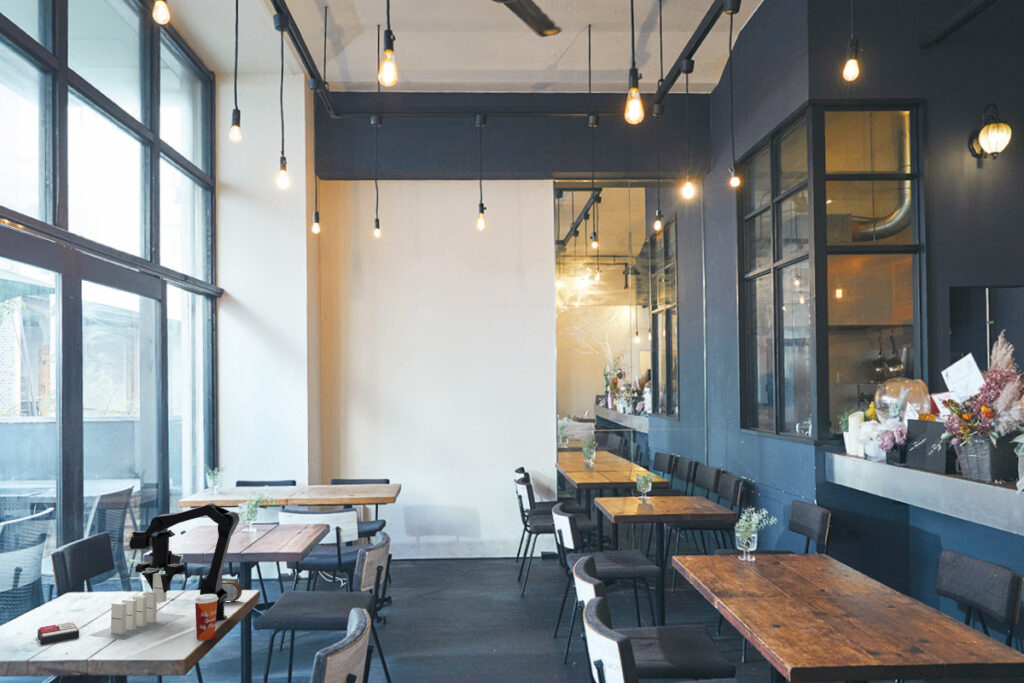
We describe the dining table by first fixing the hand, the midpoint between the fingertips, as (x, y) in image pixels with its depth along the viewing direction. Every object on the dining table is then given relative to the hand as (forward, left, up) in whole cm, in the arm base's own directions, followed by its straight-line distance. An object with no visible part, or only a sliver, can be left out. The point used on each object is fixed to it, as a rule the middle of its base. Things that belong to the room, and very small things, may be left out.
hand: (159, 591), depth 270 cm
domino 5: (0, 0, -4) cm, 4 cm away
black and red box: (+2, +32, -11) cm, 34 cm away
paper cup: (-33, -6, -11) cm, 35 cm away
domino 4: (-2, +4, -10) cm, 11 cm away
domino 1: (-9, +16, -10) cm, 20 cm away
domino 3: (-4, +8, -10) cm, 13 cm away
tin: (+9, -26, -11) cm, 30 cm away
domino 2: (-7, +12, -10) cm, 17 cm away
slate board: (-4, +8, -11) cm, 14 cm away
